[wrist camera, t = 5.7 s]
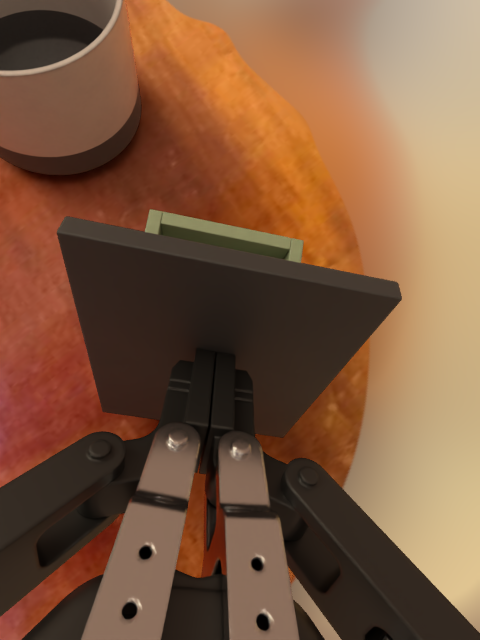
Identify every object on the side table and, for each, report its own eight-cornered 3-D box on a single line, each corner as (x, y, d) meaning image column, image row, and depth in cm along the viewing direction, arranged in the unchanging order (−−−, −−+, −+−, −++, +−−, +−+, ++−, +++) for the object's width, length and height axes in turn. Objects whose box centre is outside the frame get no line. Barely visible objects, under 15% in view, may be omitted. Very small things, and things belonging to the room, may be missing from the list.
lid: (65, 214, 10) (55, 231, 9) (398, 281, 11) (403, 299, 11) (106, 399, 19) (102, 412, 19) (283, 425, 20) (283, 438, 20)
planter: (160, 168, 31) (149, 58, 21) (-3, 200, 29) (-106, 92, 18) (121, 41, 33) (93, -116, 23) (-35, 60, 30) (-145, -107, 20)
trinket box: (158, 256, 30) (149, 208, 22) (274, 278, 31) (303, 240, 23) (127, 402, 27) (105, 405, 20) (255, 421, 28) (281, 431, 21)
